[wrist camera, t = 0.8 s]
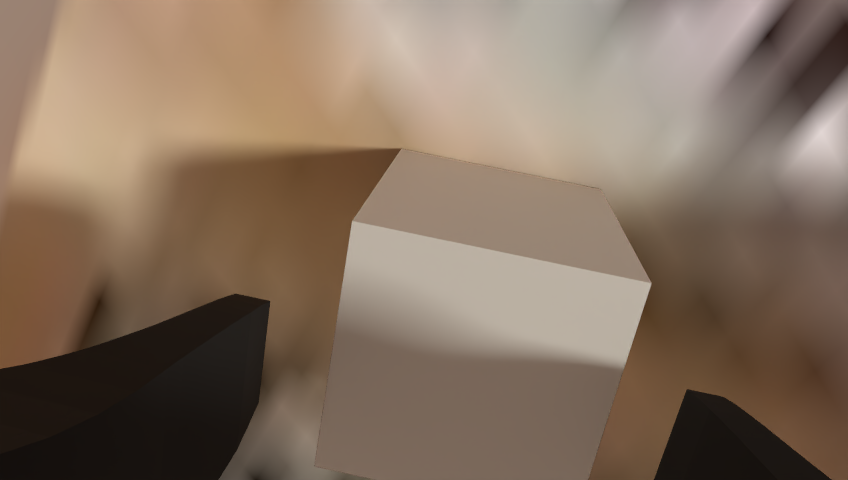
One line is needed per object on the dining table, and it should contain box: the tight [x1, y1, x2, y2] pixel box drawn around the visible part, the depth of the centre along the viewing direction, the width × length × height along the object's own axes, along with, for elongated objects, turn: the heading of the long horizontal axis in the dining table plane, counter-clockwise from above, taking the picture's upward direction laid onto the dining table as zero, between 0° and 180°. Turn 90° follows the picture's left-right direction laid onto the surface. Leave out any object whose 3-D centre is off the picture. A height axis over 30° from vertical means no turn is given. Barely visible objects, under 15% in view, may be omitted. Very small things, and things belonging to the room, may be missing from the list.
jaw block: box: [314, 149, 652, 480], centre depth 15 cm, size 5×5×6 cm
